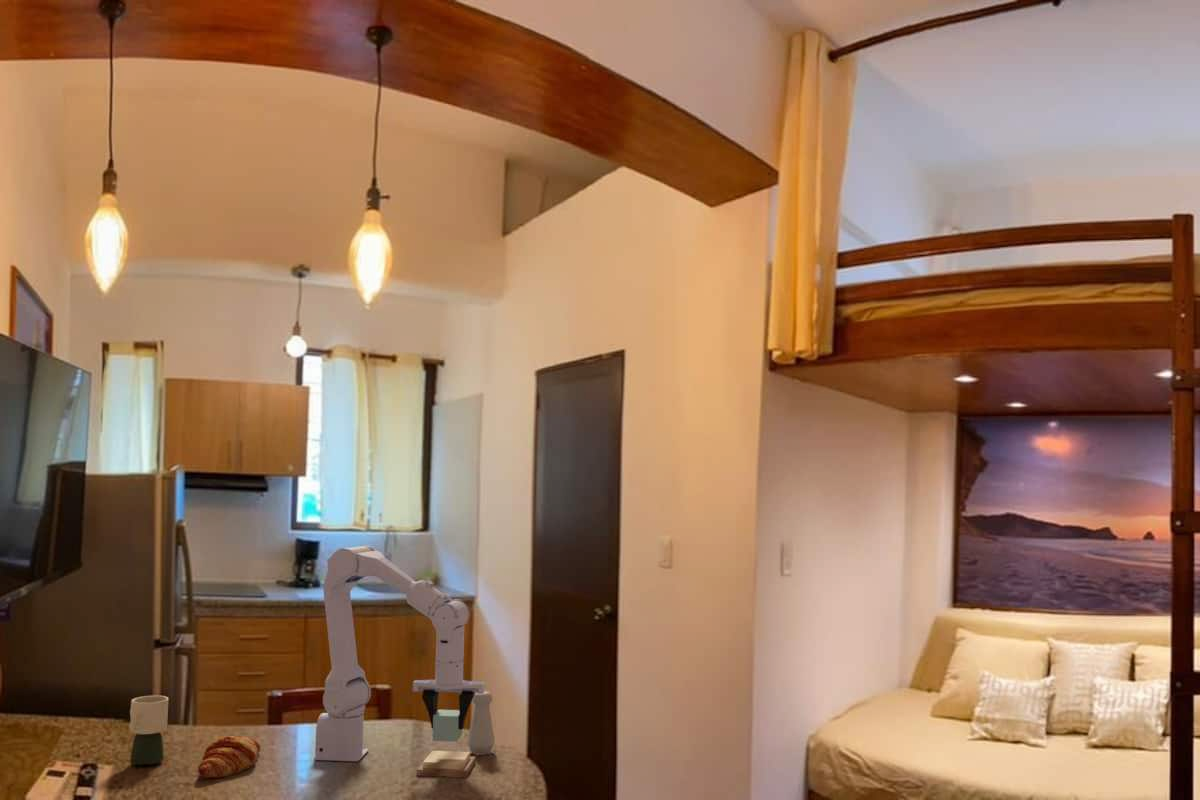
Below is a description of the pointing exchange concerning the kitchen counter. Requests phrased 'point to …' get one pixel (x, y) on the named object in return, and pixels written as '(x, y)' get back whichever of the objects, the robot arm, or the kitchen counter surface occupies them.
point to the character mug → (148, 728)
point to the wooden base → (446, 764)
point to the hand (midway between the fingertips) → (447, 727)
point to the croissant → (229, 756)
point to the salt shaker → (481, 725)
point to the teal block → (446, 725)
